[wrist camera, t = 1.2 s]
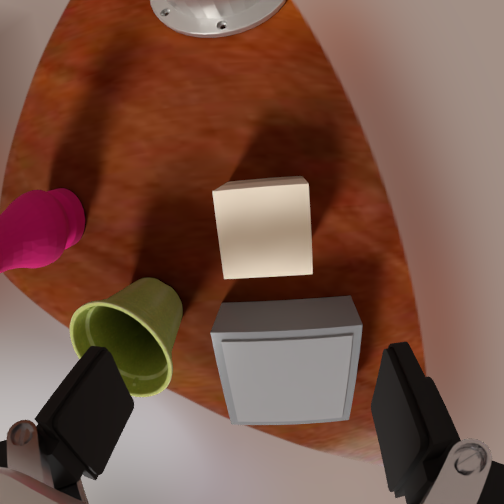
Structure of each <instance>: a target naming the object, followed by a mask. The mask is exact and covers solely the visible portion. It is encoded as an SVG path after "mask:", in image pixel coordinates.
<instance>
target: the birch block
mask: <svg viewBox="0 0 504 504" xmlns="http://www.w3.org/2000/svg"><path fill="white" fill-rule="evenodd" d="M212 193H213V201H214V208H215V216H216V224H217V231H218V239H219V246H220V253H221V261H222V268H223V274H224V279H237V278H257V277H275V276H292V275H308V274H313V266H312V237H311V216H310V198H309V184H308V182H307V181H306V180H305V179H304V178H303V176H291V177H276V178H264V179H252V180H241V181H231V182H227V183H226V184H224V185H222V186H221V187H219V188H217V189H216V190H214V191H212Z"/></svg>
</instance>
